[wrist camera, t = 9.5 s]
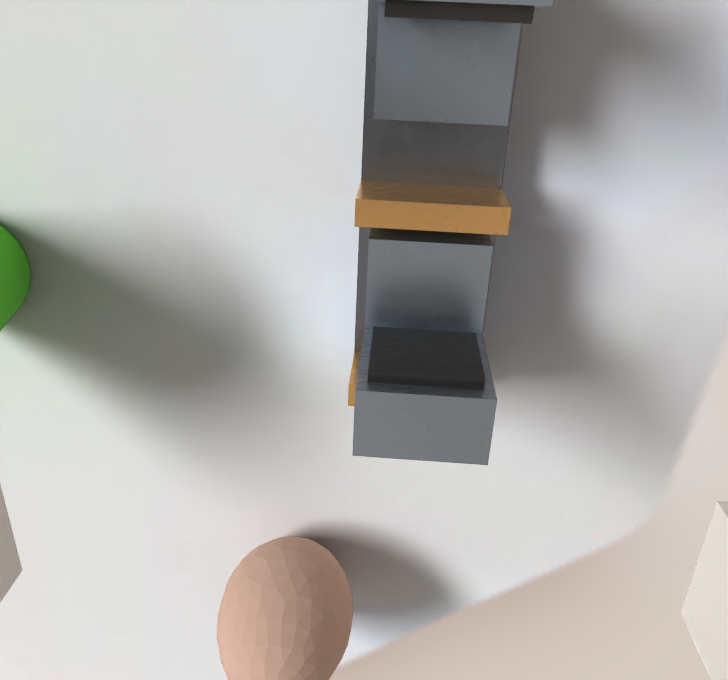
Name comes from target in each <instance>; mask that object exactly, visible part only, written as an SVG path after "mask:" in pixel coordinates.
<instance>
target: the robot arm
mask: <svg viewBox="0 0 728 680" xmlns="http://www.w3.org/2000/svg"><path fill="white" fill-rule="evenodd" d="M21 571H22V567H21V563H20V559H19V556H18V552H17V548H16V544H15V540H14V536H13V532H12V528H11V524H10V520H9V516H8V512H7V508H6V504H5V501H4V497H3V493H2V489H1V485H0V602H1V601H2V599H3V598H4V596H5V595H6V593H7V592H8V590H9V589H10V587H11V586H12V585H13V583H14V582H15V580H16V579H17V577H18V576H19V574H20V573H21ZM681 615H682V617H683V619H684V621H685V624H686V626H687V628H688V631H689V633H690V635H691V637H692V639H693V642H694V644H695V646H696V648H697V650H698V652H699V655H700V657H701V659H702V661H703V663H704V666H705V668H706V670H707V672H708V674H709V677H710V679H711V680H728V502H722V501H717V503H716V506H715V510H714V513H713V516H712V519H711V522H710V525H709V528H708V531H707V534H706V537H705V540H704V543H703V546H702V549H701V552H700V555H699V559H698V562H697V565H696V568H695V571H694V574H693V577H692V580H691V583H690V586H689V589H688V592H687V595H686V599H685V601H684V605H683V608H682V611H681Z"/></svg>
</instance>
